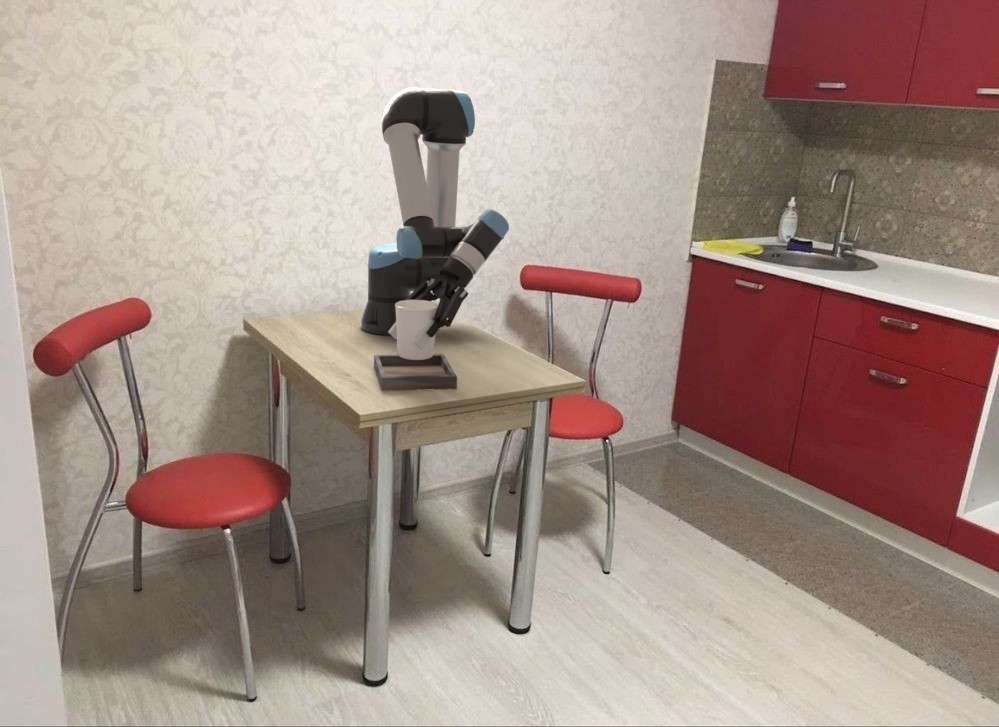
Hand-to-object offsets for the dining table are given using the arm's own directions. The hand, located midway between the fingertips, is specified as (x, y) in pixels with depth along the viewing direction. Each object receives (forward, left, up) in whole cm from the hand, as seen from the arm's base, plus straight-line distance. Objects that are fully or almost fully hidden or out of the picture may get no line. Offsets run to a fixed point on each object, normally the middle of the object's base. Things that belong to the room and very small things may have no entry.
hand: (404, 340), depth 195 cm
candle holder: (-2, +3, -4) cm, 5 cm away
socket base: (-2, +3, -10) cm, 10 cm away
